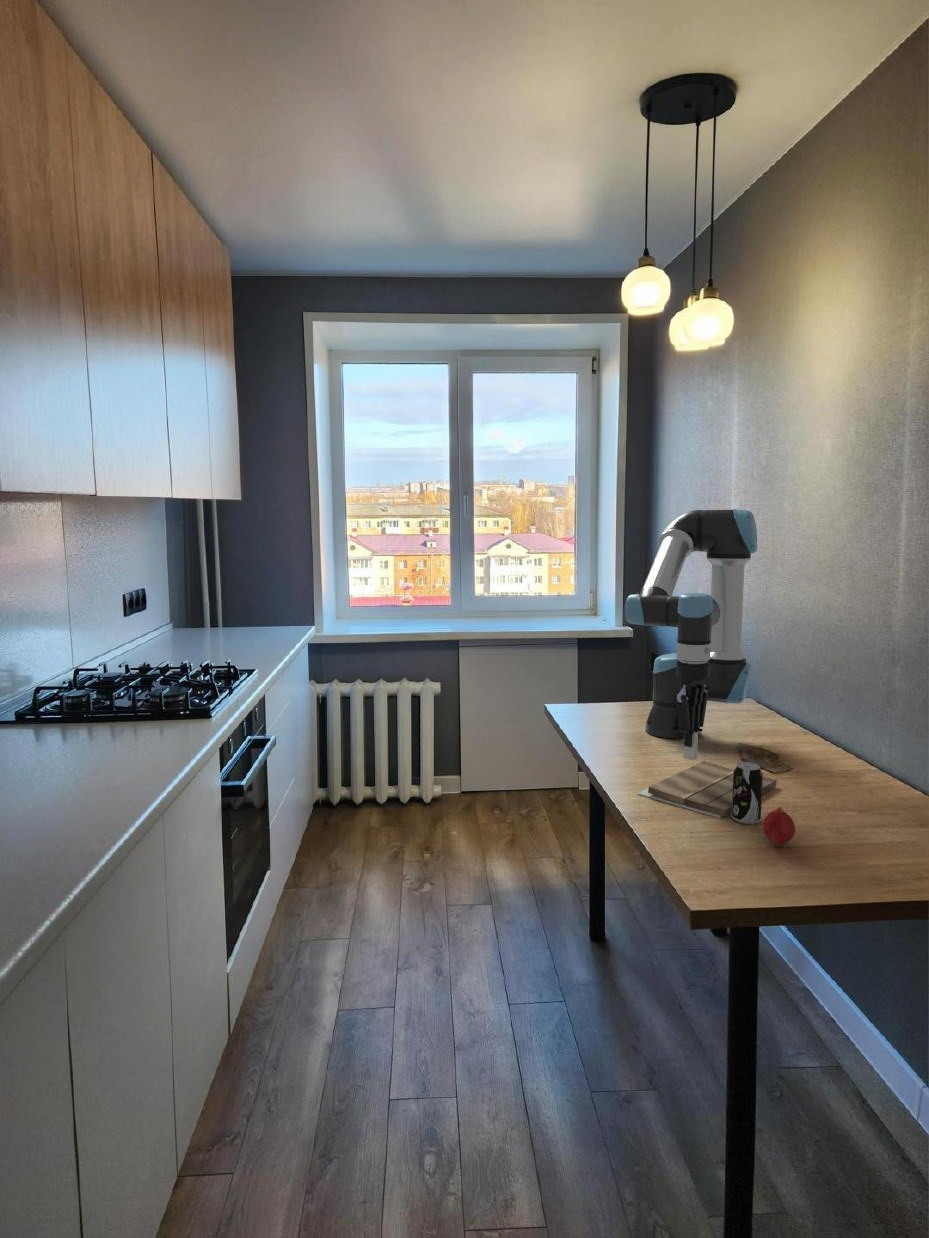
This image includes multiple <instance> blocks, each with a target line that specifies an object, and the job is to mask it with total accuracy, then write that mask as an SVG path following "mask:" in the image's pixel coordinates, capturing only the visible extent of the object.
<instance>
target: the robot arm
mask: <svg viewBox="0 0 929 1238" xmlns="http://www.w3.org/2000/svg"><path fill="white" fill-rule="evenodd" d="M657 545H658V550H657V552H656V555H655V558H654V560H653V562H652V565H651V567H650V570H649V571H648V574H647V577H646V579H645V581H644V584H643V585H642V586H643V587H642V589H641V591H640V594H639V593H636V594H630V595H628V597H627V598H626V600H625V601H626V602H625V604H624V606H625V607H624V608H625V609H624V614H625V615H624V616H625V619H626V621H627V623H629V624H631V625H638V626H648V627H649V626H650V627H651V626H653V627H670V628H677V638H676V639H677V640H676V641H677V642H676V652H674V653H666V654H662V655H659V656H658V657H656V658H655V659H654V662H653V671H652V677H653V678H652V679H653V681H652V706H651V709H650V711H649V714H648V716H647V719H646V721H645V722H646V723H645V732H646V733H647V734H649V735H652V736H655V737H659V738H664V739H673V740H676V739H677V740H680V739H681V740H683V756H682V758H683V759H686V760H689V761H694V762H695V761H696V760H698V744H699V743H698V741H699V740H698V739H699V738H698V737H699V734H700V733H702V732H703V730H704V729H703V727H704V724H705V716H706V711H707V703H708V702H713V703H715V702H716V703H724V704H741V703H743V702H744V701H745V699H746V696H747V693H748V689H749V685H750V681H751V675H752V666H753V665H752V664H751V663H750V662H747V656H746V654H744V652H743V651H742V648H741V647H742V632H743V631H742V627H743V608H744V607H743V606H744V582H745V580H744V579H745V577H744V576H745V565H746V564H747V563H748V562H749V561H750V560H751V559H752V558H751V557H752V556H751V555H752V554H754V553H756V552H757V551H758V530H757V524H756V518H755V516H754V514H753V512H752V511H751V510H747V509H736V508H734V509H694V510H689V511H686V512H684V513H682V514H680V515H679V516H677V517H675V518H674V519H673V520H671V521H670V522H669V523H668V524H667V525H666V526H665V528H664V529H663V530H662V531H661V534H660V535H659V538H658V541H657ZM692 552H703V553H704V552H705V553H706V560H707V561H708V562H709V563H710V564H711V581H710V586H711V587H710V594H708V593H704V592H702V593H701V592H687V593H681V594H680V595H679V596H677V595H676V596H675V595H674V596H673V593H674V590H675V588H676V585H677V582H678V580H679V577H680V575H681V572H682V570H683V567H684V563H685V560H686V558H688V557H689V556H691V555H692Z"/></svg>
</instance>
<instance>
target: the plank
mask: <svg viewBox="0 0 929 1238" xmlns="http://www.w3.org/2000/svg"><path fill="white" fill-rule="evenodd" d="M733 773H734V769H732V768H729V767H726V766H723V765H719V764H716V763H712V762H708V761H705V760H702V761H701V762H698V763H697V764H695V765H692V766H691V767H687V768H686V769H684V770H681V771H680V772H678V773H676V774H673V775H671V776H669V777H667V778H665V779H662V780H661V781H658V782H655V784H654V783H653V784H651V785H649V786H648V787H647V788H648V793H650V794H653V795H656V796H659V797H662V798H665V799H668V800H671V801H673V802H676V803H679V804H682V805H685V804H686V799H687V798H689V797H691V796H693V795H695V794H697V793H699V792H701V791H703V790H705V789H706V788H708V787H710V786H712V785H714V784H716V783H718V782H720V781H722V780H724V779H726V778H728V777H729V776H731V775H733Z"/></svg>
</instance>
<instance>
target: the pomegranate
mask: <svg viewBox="0 0 929 1238" xmlns="http://www.w3.org/2000/svg"><path fill="white" fill-rule="evenodd" d="M761 826H762V827H761V828H762V831H763V834H764V836H765V837H766V839H767V840H768V841H770V842H771V843H772V844H773V845H774V846H775V847H776V848H777V847H778V848H779V847H782V846H784V845H785V844H787V843H789V842H790V841H792V840H793V838H794V837H795V833H796V826H795V823H794V821H793V818H792V817H791V816H790V815H789V814H788V813H787V812H785V811H784V809H783V807H782V806H778V807H777V808H776V809H775V810H773V811H770V812H769V813H768V814H766V816H765V817H764V819H763V821H762V825H761Z"/></svg>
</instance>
